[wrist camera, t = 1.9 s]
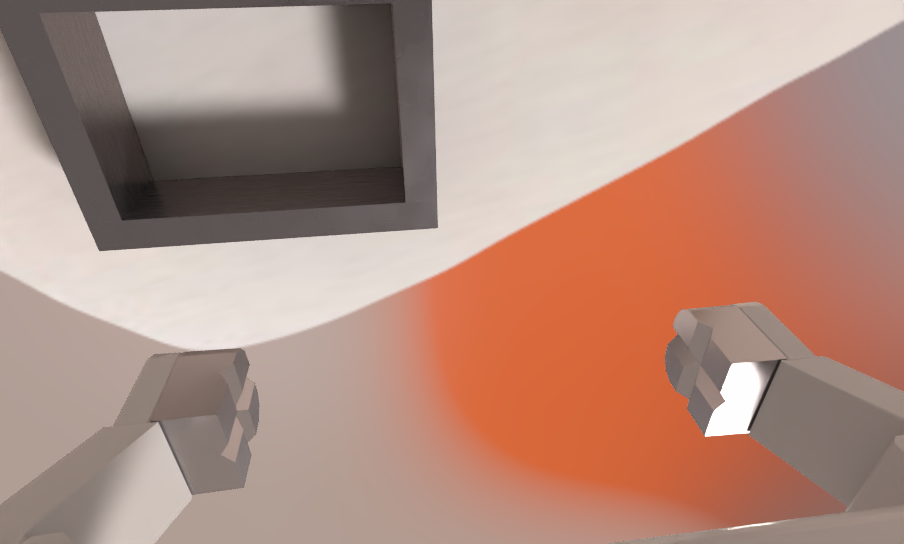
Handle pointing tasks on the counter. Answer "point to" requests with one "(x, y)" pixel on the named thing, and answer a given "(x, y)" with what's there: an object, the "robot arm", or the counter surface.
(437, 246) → the counter surface
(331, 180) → the grey open tray
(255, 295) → the counter surface
